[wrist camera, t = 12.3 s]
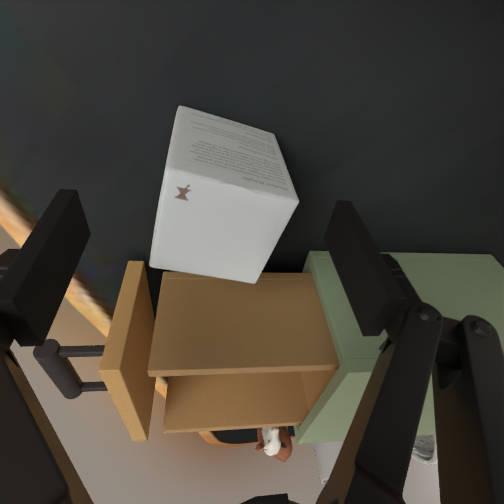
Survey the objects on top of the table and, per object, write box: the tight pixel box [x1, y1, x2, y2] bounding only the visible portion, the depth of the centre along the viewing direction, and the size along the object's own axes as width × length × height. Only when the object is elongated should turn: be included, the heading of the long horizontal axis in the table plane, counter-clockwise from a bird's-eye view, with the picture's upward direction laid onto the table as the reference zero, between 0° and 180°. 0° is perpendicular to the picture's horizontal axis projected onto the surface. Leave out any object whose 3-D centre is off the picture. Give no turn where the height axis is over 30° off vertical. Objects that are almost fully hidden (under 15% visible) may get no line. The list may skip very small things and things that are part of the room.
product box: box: [149, 106, 299, 284], centre depth 17 cm, size 6×6×7 cm
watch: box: [411, 434, 438, 464], centre depth 44 cm, size 6×8×11 cm
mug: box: [313, 441, 344, 485], centre depth 53 cm, size 11×10×10 cm
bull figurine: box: [256, 426, 292, 462], centre depth 47 cm, size 4×13×8 cm, turn 13°
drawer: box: [33, 261, 340, 442], centre depth 26 cm, size 22×14×9 cm, turn 84°
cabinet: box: [294, 251, 504, 444], centre depth 29 cm, size 18×15×11 cm
